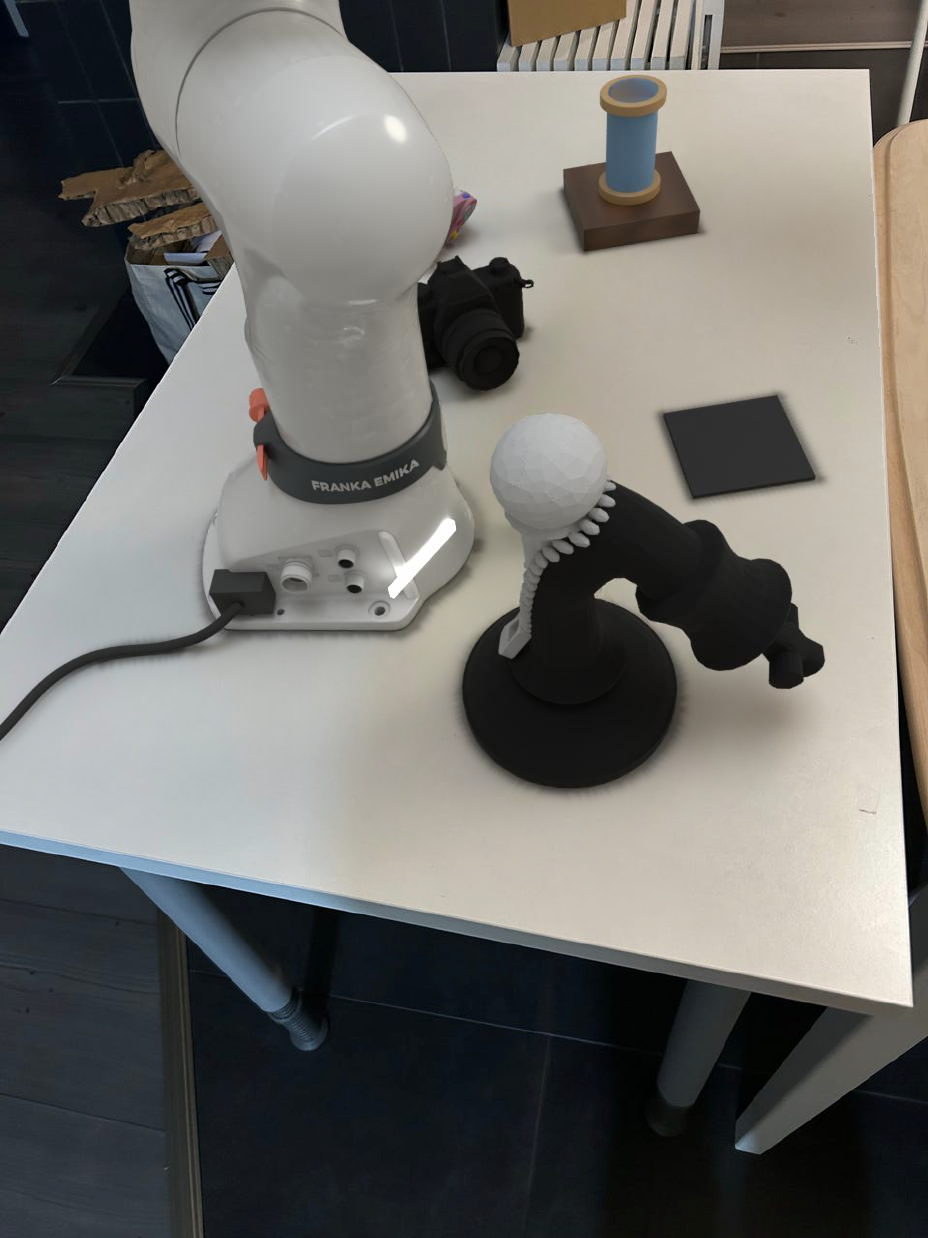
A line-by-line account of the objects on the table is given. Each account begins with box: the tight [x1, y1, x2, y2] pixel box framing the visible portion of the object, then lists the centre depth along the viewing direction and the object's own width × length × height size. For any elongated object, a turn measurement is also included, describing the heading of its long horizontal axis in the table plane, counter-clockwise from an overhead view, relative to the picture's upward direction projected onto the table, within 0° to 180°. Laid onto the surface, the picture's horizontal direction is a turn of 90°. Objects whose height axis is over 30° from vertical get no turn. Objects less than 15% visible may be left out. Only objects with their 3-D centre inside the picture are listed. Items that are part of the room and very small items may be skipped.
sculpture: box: [461, 412, 826, 789], centre depth 55 cm, size 15×24×25 cm, turn 82°
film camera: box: [417, 254, 535, 392], centre depth 84 cm, size 15×10×9 cm, turn 112°
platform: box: [562, 150, 701, 252], centre depth 98 cm, size 12×12×2 cm
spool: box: [599, 74, 668, 206], centre depth 93 cm, size 6×6×10 cm
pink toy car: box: [444, 186, 478, 244], centre depth 97 cm, size 10×5×7 cm, turn 143°
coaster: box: [662, 394, 817, 500], centre depth 77 cm, size 10×10×1 cm
